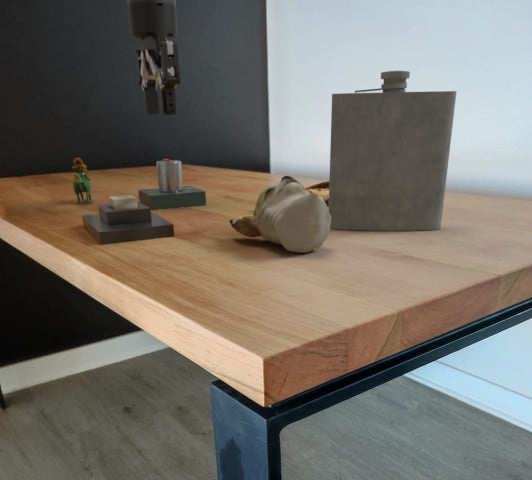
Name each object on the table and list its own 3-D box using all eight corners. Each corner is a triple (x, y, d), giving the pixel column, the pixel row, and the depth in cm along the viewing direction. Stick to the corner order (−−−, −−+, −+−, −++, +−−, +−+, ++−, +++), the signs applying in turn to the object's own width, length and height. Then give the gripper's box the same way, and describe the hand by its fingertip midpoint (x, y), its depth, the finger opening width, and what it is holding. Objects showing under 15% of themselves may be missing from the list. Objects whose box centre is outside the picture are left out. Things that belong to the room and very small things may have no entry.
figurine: (97, 197, 109) (91, 154, 106) (87, 207, 98) (80, 160, 95) (82, 198, 109) (75, 155, 106) (69, 208, 98) (62, 160, 95)
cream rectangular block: (115, 212, 75) (113, 199, 75) (110, 209, 78) (108, 196, 77) (138, 210, 77) (136, 197, 76) (132, 207, 79) (131, 194, 79)
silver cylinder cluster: (186, 190, 98) (184, 159, 96) (163, 192, 96) (160, 161, 94) (178, 187, 102) (175, 158, 100) (155, 189, 100) (152, 159, 98)
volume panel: (152, 210, 94) (150, 194, 93) (139, 203, 102) (137, 188, 101) (206, 205, 98) (205, 190, 97) (190, 199, 106) (189, 184, 105)
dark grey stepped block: (100, 245, 71) (97, 218, 69) (83, 226, 82) (79, 203, 81) (174, 236, 75) (172, 210, 73) (148, 220, 86) (145, 197, 85)
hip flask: (438, 225, 79) (456, 70, 70) (443, 231, 75) (462, 68, 67) (328, 224, 80) (332, 73, 72) (327, 230, 77) (332, 71, 68)
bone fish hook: (336, 199, 104) (252, 206, 97) (337, 174, 103) (251, 178, 95) (365, 204, 97) (276, 211, 89) (367, 177, 95) (276, 182, 88)
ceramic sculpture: (272, 180, 58) (222, 176, 70) (275, 261, 61) (226, 243, 74) (356, 175, 62) (294, 171, 74) (354, 251, 65) (295, 235, 78)
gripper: (116, 7, 90) (127, 114, 97) (142, -8, 78) (153, 115, 85) (159, 10, 93) (167, 114, 100) (190, -3, 82) (197, 114, 89)
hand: (160, 114), depth 93 cm, fingers open, 8 cm apart
